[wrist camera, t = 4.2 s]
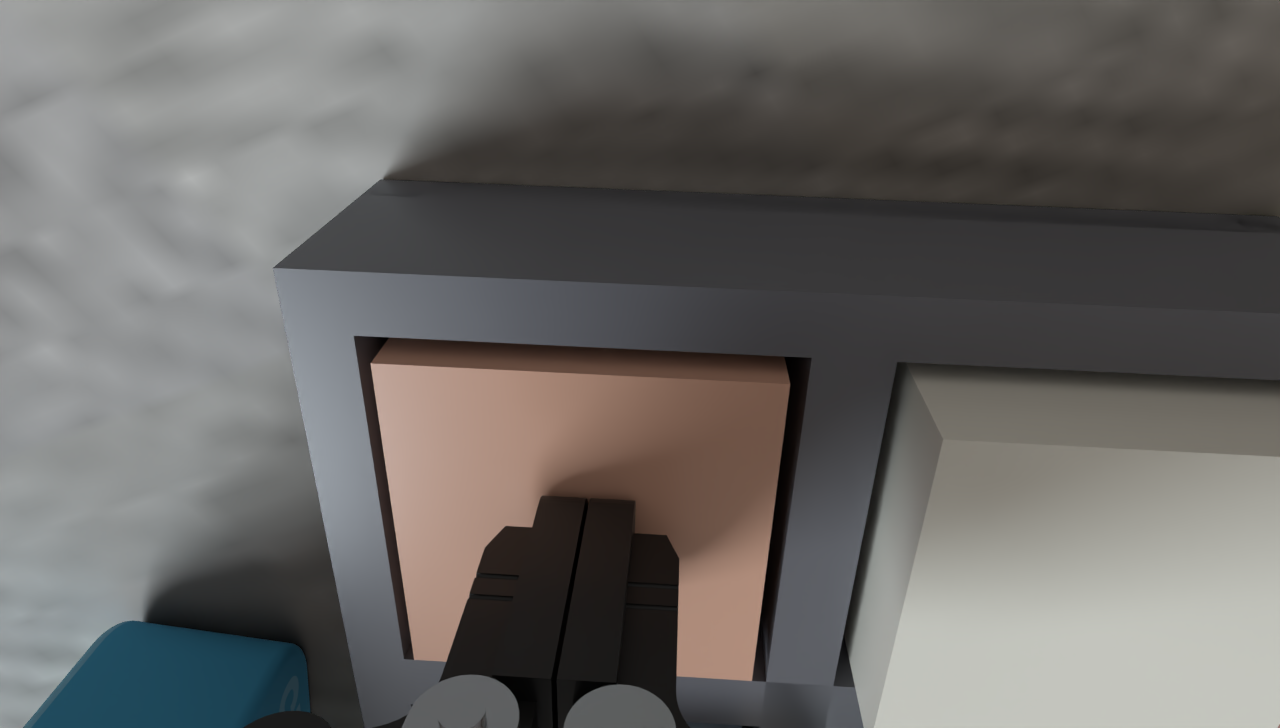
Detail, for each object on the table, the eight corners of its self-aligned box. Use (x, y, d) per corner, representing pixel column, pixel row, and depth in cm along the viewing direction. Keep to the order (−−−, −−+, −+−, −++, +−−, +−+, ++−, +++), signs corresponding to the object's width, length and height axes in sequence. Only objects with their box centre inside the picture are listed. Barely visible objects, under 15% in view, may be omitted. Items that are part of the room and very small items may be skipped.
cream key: (835, 594, 16) (868, 750, 13) (885, 321, 13) (942, 439, 10) (1142, 612, 16) (1249, 775, 13) (1260, 339, 13) (1431, 464, 10)
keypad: (452, 752, 23) (402, 923, 19) (380, 179, 15) (272, 267, 11) (1042, 791, 23) (1117, 976, 19) (1277, 216, 15) (1491, 323, 11)
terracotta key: (462, 531, 18) (413, 659, 15) (436, 272, 15) (370, 363, 12) (741, 547, 17) (751, 681, 14) (769, 287, 15) (790, 383, 12)
